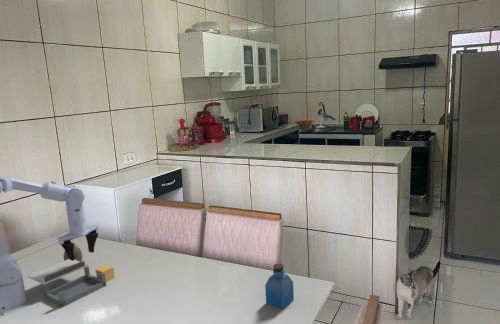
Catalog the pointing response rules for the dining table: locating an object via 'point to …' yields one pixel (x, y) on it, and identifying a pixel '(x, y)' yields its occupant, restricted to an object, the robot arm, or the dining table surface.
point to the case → (75, 289)
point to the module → (106, 272)
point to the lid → (57, 271)
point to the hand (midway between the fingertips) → (81, 255)
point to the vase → (76, 254)
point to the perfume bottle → (279, 288)
